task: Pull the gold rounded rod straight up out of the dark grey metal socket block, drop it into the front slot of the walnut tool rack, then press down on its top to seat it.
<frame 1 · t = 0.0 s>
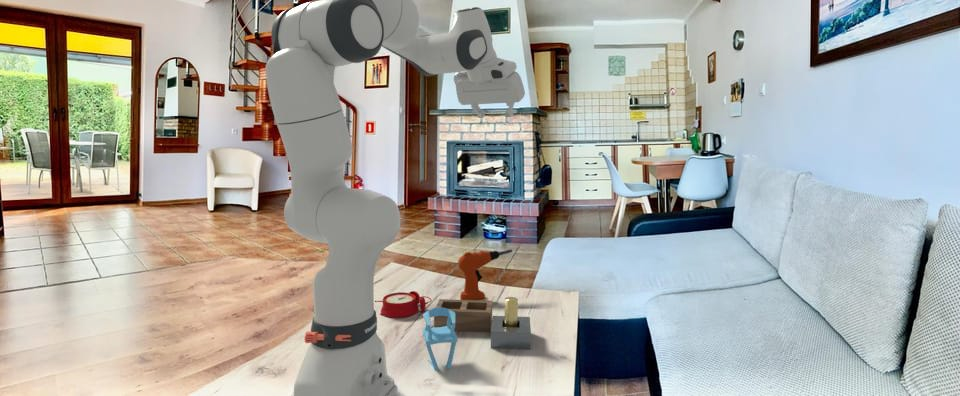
hand: (495, 116, 128), 54 cm above the table, tool tilted 30°, fingers open, 8 cm apart
alarm clock: (405, 311, 127), on the table
gold rounded rod: (510, 339, 106), point 1 cm above the table, touching socket block
chair: (440, 365, 96), on the table
toy drill: (485, 296, 138), on the table
tool rack: (464, 328, 115), on the table
socket block: (510, 343, 106), on the table
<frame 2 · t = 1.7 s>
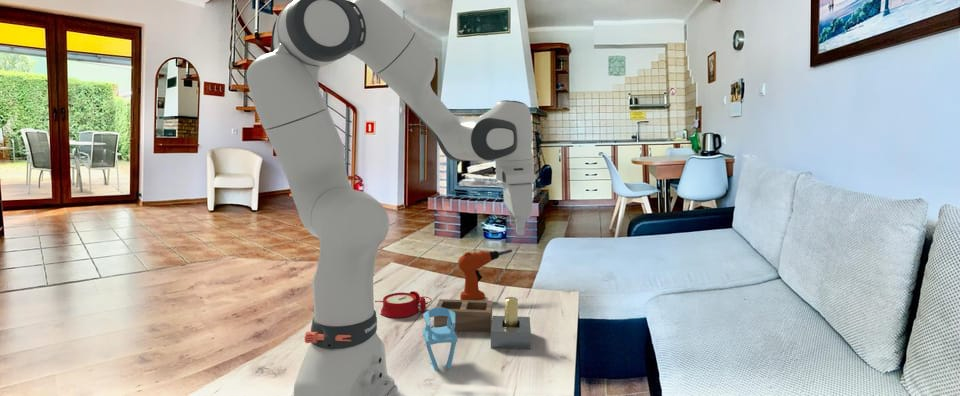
hand: (517, 229, 107), 27 cm above the table, tool pointing down, fingers open, 8 cm apart
nothing on the table moved.
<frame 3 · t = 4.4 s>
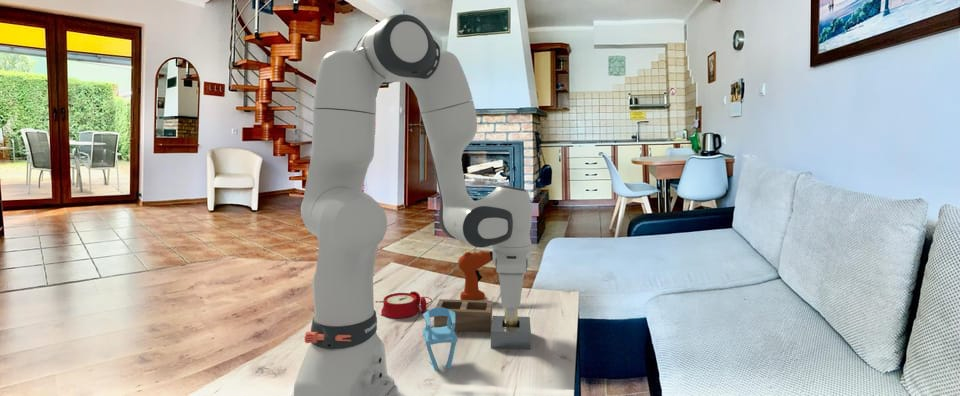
hand: (511, 313, 105), 8 cm above the table, tool pointing down, fingers closed on gold rounded rod, 3 cm apart
gold rounded rod: (510, 339, 106), point 1 cm above the table, touching gripper, socket block
everything else where it was.
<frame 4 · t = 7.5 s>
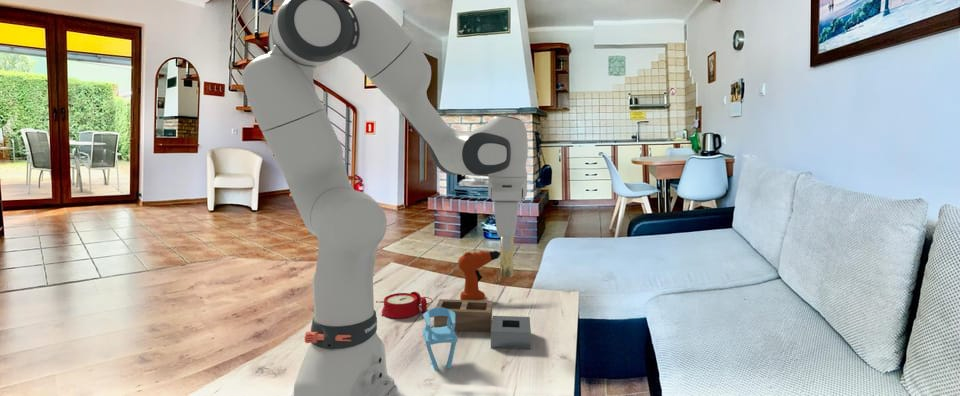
hand: (506, 248, 104), 23 cm above the table, tool pointing down, fingers closed on gold rounded rod, 3 cm apart
gold rounded rod: (506, 275, 105), point 16 cm above the table, touching gripper
everything else where it was.
when the fingers open (9 cm above the table, at t = 10.5 s): gold rounded rod stays where it is, resting on tool rack.
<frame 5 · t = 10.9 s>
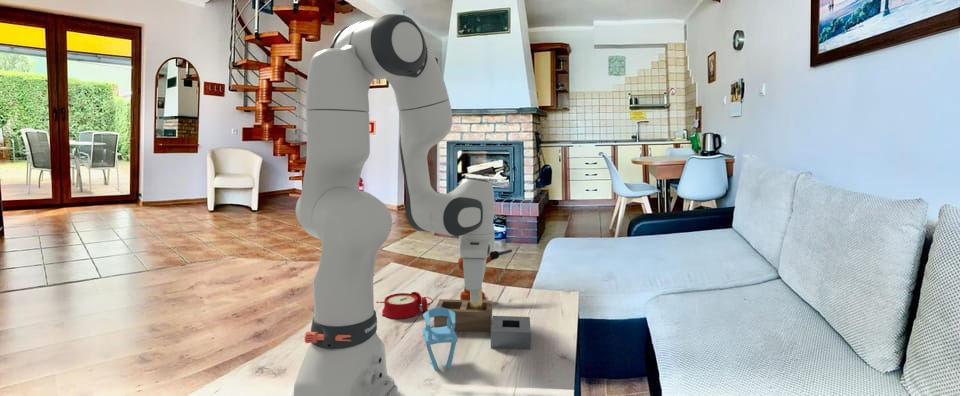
hand: (476, 296, 113), 9 cm above the table, tool pointing down, fingers open, 6 cm apart
gold rounded rod: (476, 324, 114), point 1 cm above the table, touching tool rack
everything else where it was.
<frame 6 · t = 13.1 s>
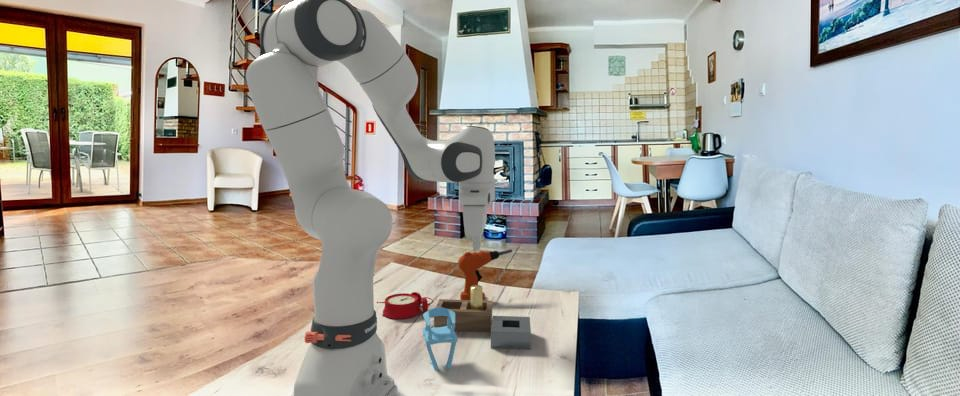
hand: (476, 248, 112), 21 cm above the table, tool pointing down, fingers closed
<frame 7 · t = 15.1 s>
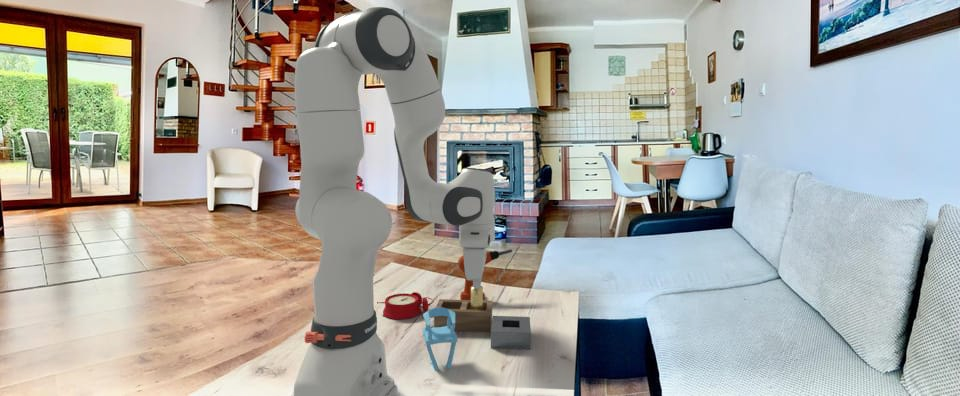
hand: (477, 286, 113), 11 cm above the table, tool pointing down, fingers closed, pressing on gold rounded rod
gold rounded rod: (476, 324, 114), point 1 cm above the table, touching gripper, tool rack
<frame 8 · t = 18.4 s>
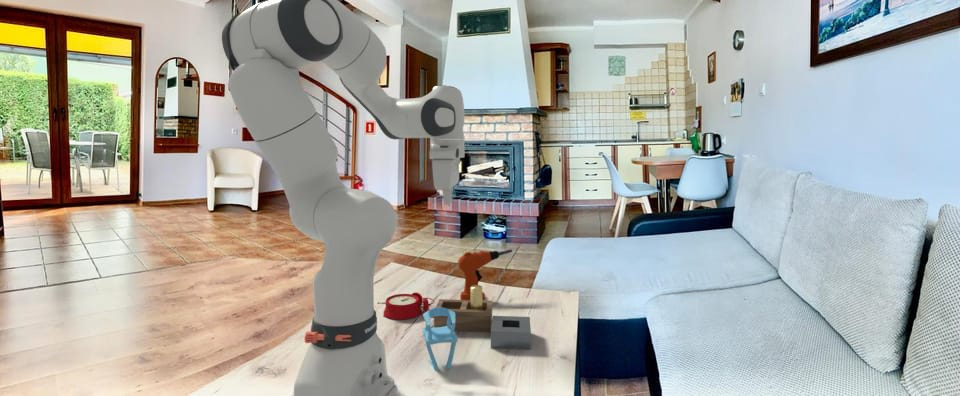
hand: (448, 203, 118), 31 cm above the table, tool pointing down, fingers closed
gold rounded rod: (476, 324, 114), point 1 cm above the table, touching tool rack
at the end: gold rounded rod 0.1 cm from the target spot on the tool rack, point 1.0 cm above the tool rack's base; gold rounded rod tilted 1°; the gripper is holding nothing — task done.
